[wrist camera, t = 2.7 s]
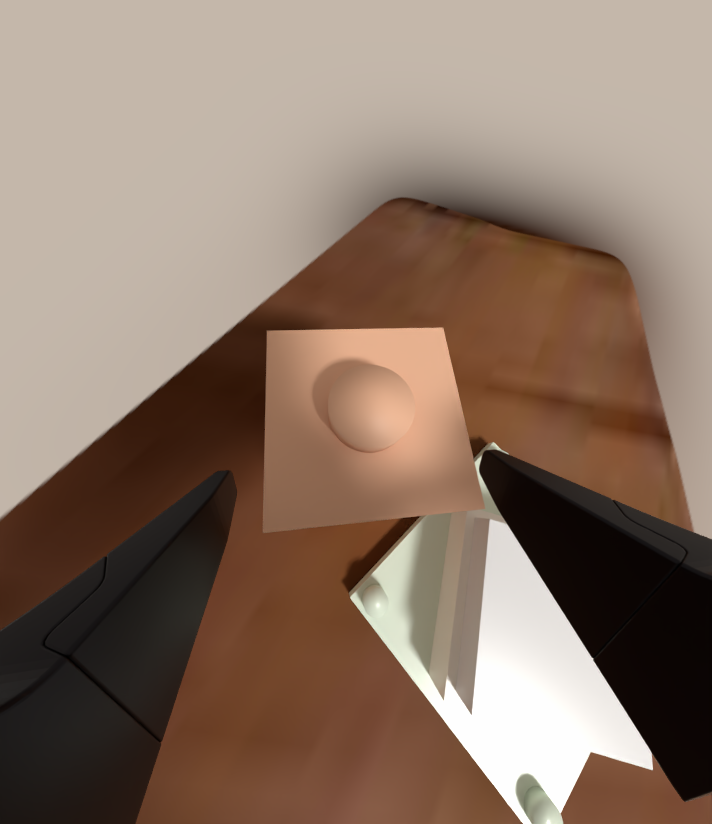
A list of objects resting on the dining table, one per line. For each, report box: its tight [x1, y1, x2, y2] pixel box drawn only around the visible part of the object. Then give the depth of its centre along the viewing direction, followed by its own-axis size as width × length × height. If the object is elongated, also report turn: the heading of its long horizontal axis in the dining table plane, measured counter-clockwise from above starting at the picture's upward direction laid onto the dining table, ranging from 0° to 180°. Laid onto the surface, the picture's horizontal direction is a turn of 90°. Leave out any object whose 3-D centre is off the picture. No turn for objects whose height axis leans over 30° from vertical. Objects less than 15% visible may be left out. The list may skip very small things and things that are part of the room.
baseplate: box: [349, 442, 590, 824], centre depth 16 cm, size 14×14×2 cm
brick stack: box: [429, 510, 653, 770], centre depth 14 cm, size 9×9×4 cm
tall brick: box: [263, 328, 485, 533], centre depth 13 cm, size 6×6×12 cm
